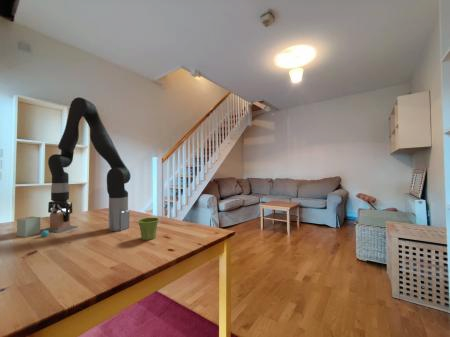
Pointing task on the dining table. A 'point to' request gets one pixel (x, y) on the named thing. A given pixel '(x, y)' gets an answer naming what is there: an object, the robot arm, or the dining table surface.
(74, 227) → the slate mat
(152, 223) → the plant pot
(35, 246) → the dining table surface
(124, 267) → the dining table surface
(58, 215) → the brown block
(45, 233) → the teal marble
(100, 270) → the dining table surface
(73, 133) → the robot arm
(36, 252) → the dining table surface
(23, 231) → the pale green block
